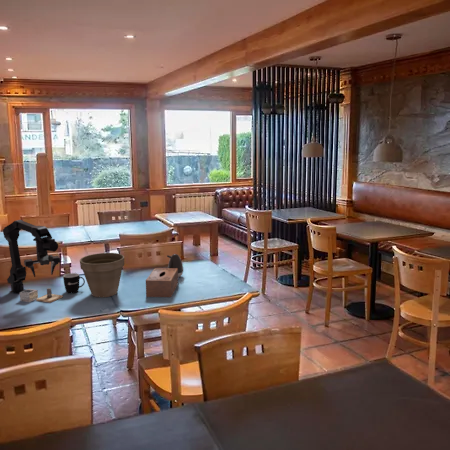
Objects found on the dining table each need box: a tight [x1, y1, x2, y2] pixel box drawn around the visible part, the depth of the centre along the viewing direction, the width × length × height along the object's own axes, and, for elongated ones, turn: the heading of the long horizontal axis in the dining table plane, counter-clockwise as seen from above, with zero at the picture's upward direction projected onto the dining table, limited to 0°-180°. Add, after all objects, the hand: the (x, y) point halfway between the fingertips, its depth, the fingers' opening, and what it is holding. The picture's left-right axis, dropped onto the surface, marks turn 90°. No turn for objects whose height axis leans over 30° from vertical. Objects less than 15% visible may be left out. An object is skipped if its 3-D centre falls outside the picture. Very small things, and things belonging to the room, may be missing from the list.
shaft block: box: [35, 287, 63, 304], centre depth 274 cm, size 10×10×6 cm
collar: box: [19, 288, 39, 303], centre depth 273 cm, size 7×7×5 cm
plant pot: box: [79, 252, 125, 298], centre depth 281 cm, size 25×25×22 cm
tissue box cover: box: [145, 267, 179, 298], centre depth 289 cm, size 26×14×10 cm, turn 177°
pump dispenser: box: [166, 253, 184, 278], centre depth 315 cm, size 10×10×15 cm
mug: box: [62, 272, 86, 294], centre depth 287 cm, size 12×9×10 cm
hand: (43, 275), depth 274 cm, fingers open, 9 cm apart
